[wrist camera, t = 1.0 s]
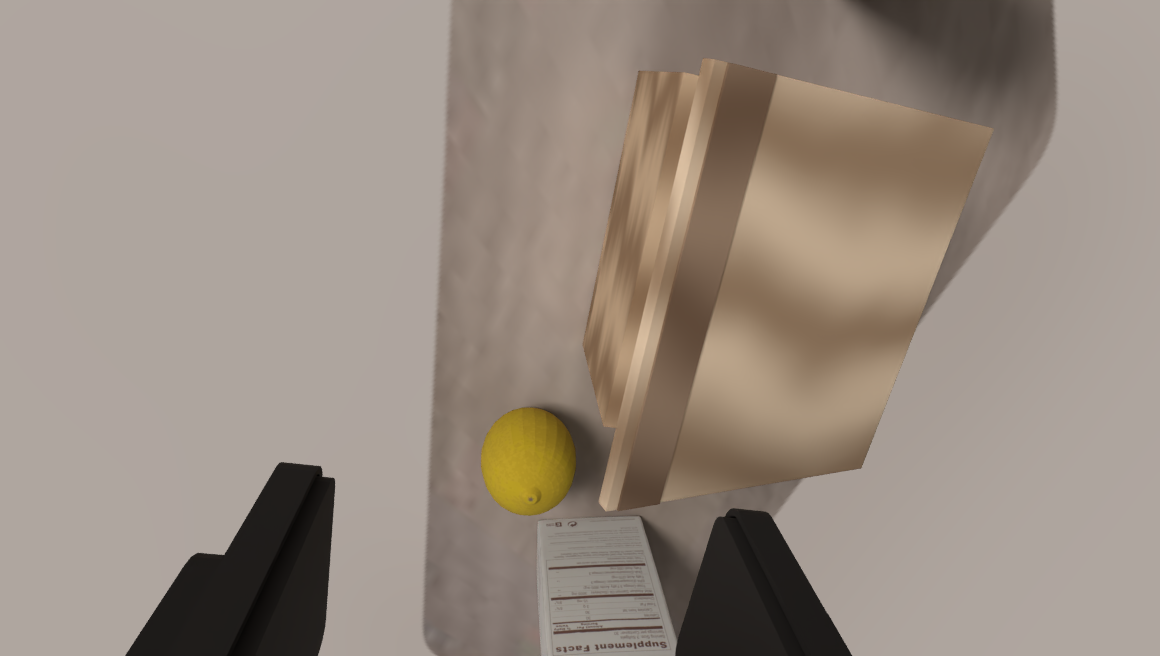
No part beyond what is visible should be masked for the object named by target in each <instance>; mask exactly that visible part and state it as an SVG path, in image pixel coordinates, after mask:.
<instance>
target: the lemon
mask: <svg viewBox="0 0 1160 656" xmlns="http://www.w3.org/2000/svg"><path fill="white" fill-rule="evenodd" d="M481 469H482V473H483V477H484V481H485V484H486V487H487V489H488V491H489V492H490V494H491V495H492V497H493V499H494V500H495V501H496V502H497V503H498V504H499V505H500V506H501V507H503V508H505V509H507V510H508V511H510V512H512V513H516V514H519V515H529V516H530V515H537V514H541V513H544V512H547V511H549V510H550V509H552V508H553V507H555V506H556V505H558V504H559V503H560V502H561V501H562V500H563V499H564V497H565V496H566V494H567V492H568V491H569V489H570V487H571V485H572V482H573V478H574V474H575V469H576V453H575V446H574V443H573V441H572V438H571V435H570V433H569V431H568V430H567V428H566V427H565V426H564V424H563V423H562V422H561V421H560V420H559V419H558V418H557V417H555V416H554V415H553V414H551V413H549V412H547V411H545V410H543V409H538V408H533V407H532V408H520V409H516V410H512V411H510V412H508V413H507V414H505V415H503V416H502V417H501V418H500V419H498V420H497V421H496V422H495V423H494V424H493V426H492V427H491V429H490V430H489V432H488V433H487V436H486V438H485V441H484V444H483V447H482V453H481Z"/></svg>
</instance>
